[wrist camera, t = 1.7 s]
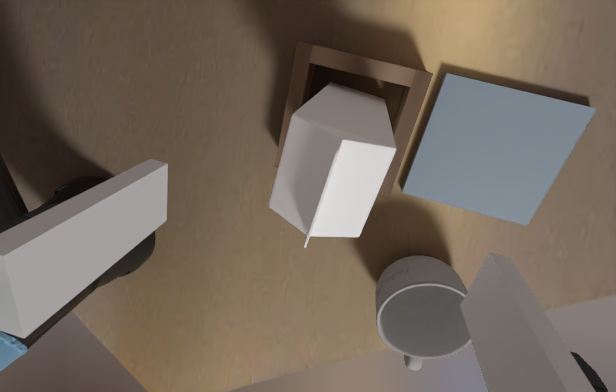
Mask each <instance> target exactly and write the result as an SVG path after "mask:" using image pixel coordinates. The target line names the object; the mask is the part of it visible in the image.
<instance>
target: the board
mask: <svg viewBox="0 0 616 392" xmlns="http://www.w3.org/2000/svg"><path fill="white" fill-rule="evenodd" d="M595 111H596V108H593V107H589V106H584V105H580V104H576V103H572V102H568V101H563V100H559V99H555V98H551V97H546V96H542V95H538V94H534V93H530V92H525V91H521V90H517V89H513V88H508V87H504V86H500V85H496V84H492V83H487V82H483V81H479V80H475V79H470V78H466V77H462V76H458V75H454V74H449V73H444V76H443V79H442V81H441V84H440V87H439V89H438V92H437V95H436V97H435V100H434V103H433V106H432V108H431V111H430V114H429V116H428V119H427V122H426V124H425V127H424V130H423V132H422V135H421V138H420V140H419V143H418V146H417V148H416V151H415V154H414V156H413V159H412V162H411V165H410V167H409V170H408V173H407V175H406V178H405V181H404V183H403V186H402V189H401V190H402V193H405V194H409V195H413V196H416V197H420V198H424V199H428V200H432V201H435V202H439V203H443V204H447V205H450V206H454V207H458V208H462V209H466V210H469V211H473V212H477V213H481V214H484V215H488V216H492V217H496V218H499V219H503V220H507V221H511V222H515V223H518V224H522V225H526V226H527V225H528V223H529V222H530V220H531V218H532V217H533V215H534V213H535V212H536V210H537V208H538V206H539V205H540V203H541V201H542V200H543V198H544V196H545V195H546V193H547V191H548V190H549V188H550V186H551V185H552V183H553V181H554V180H555V178H556V176H557V175H558V173H559V171H560V169H561V168H562V166H563V164H564V163H565V161H566V159H567V158H568V156H569V154H570V153H571V151H572V149H573V148H574V146H575V144H576V143H577V141H578V139H579V138H580V136H581V134H582V132H583V131H584V129H585V127H586V126H587V124H588V122H589V121H590V119H591V117H592V116H593V114H594V112H595Z"/></svg>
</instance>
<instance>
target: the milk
mask: <svg viewBox="0 0 616 392" xmlns="http://www.w3.org/2000/svg"><path fill="white" fill-rule="evenodd" d="M396 149H397V148H396V144H395V140H394V136H393V132H392V127H391V123H390V119H389V115H388V111H387V107H386V103H385V99H383V98H380V97H377V96H374V95H371V94H368V93H365V92H362V91H359V90H356V89H353V88H349V87H346V86H343V85H340V84H337V83H334V82H330V83H329V84H328V85H327V86H326V87H324V88H323V89H322V90H321V91H320V92H319V93H317V94H316V95H315V96H314V97H313V98H311V99H310V100H309V101H308V102H307V103H305V104H304V105H303V106H302V107H301V108H299V109H298V110H297V111H296V112H295V113H293V114H292V117H291V121H290V125H289V129H288V132H287V136H286V140H285V144H284V148H283V152H282V155H281V159H280V163H279V167H278V171H277V175H276V178H275V182H274V186H273V190H272V194H271V198H270V201H269V207H270V208H272V209H273V210H274V211H275V212H277V213H278V214H280V215H281V216H282V217H284V218H285V219H286V220H288V221H289V222H290V223H292V224H293V225H294V226H296V227H297V228H298V229H300V230H301V231H302V232H304V233H305V234H306V235H307V239H306V242H305V245H304V248H306V246H307V243H308V240H309V237H310V236H323V237H359V236H360V234H361V232H362V229H363V227H364V225H365V222H366V220H367V218H368V215H369V213H370V211H371V208H372V206H373V204H374V201H375V199H376V197H377V194H378V192H379V190H380V187H381V185H382V183H383V180H384V178H385V175H386V173H387V171H388V168H389V166H390V164H391V161H392V159H393V157H394V154H395V152H396Z"/></svg>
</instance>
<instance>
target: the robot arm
mask: <svg viewBox="0 0 616 392" xmlns="http://www.w3.org/2000/svg"><path fill="white" fill-rule="evenodd" d="M167 178H168V164H167V163H164V162H160V161H157V160H153V159H149V160H147V161H145V162H143V163H141V164H139V165H137V166H135V167H133V168H131V169H129V170H127V171H125V172H123V173H121V174H119V175H117V176H115V177H113V178H111V179H109V180H106V179H103V178H98V177H82V178H78V179H75V180H73V181H71V182H69V183H67V184H64V185H62V186H61V187H59V188H58V189H56V190H55V191H54V192H53V193H52V194H51V196H50V197H49V199H48V201H47V202H45V203H44V204H42V205H41V206H40V207H39V208H37V209H35V210H33V211H31V212H28V210H27V208H26V206H25V204H24V201H23V199H22V197H21V195H20V193H19V191H18V189H17V187H16V185H15V183H14V181H13V179H12V176H11V174H10V172H9V170H8V168H7V166H6V164H5V162H4V160H3V158H2V156H1V154H0V371H1V370H2V369H4V368H5V367H6V366H8V365H9V364H10V363H12V362H13V361H14V360H16V359H17V358H18V357H20V356H22V355H24V354H25V353H26V352H27V350H28V348H29V347H31V346H32V345H33V344H34V343H35V342H36V341H37V340H38V339H39V338H41V337H42V336H43V335H44V334H45V333H46V332H47V331H48V330H50V329H51V328H52V327H53V326H54V325H55V324H56V323H58V322H59V321H60V320H61V319H62V318H63V317H64V316H66V315H67V314H68V313H69V312H70V311H71V310H72V309H74V308H75V307H76V306H77V305H78V304H79V303H80V302H81V301H83V300H84V299H85V298H86V297H87V296H88V295H89V294H90V293H92V292H93V291H94V290H95V289H96V288H98V287H100V286H102V285H104V284H107V283H109V282H111V281H112V280H114V279H116V278H117V277H121V276H125V275H127V274H130V273H132V272H133V271H135V270H136V269H138V268H139V267H140V266H141V265H142V264H143V263H144V262H145V261H146V260H147V259H148V258H149V257H150V256H151V254H152V252H153V249H154V246H155V232H154V230H156V229H157V228H158V227H159V226H160V225H162V224H163V223H164V222H165V221H166V220H167ZM460 307H461V310H462V313H463V316H464V319H465V322H466V325H467V328H468V331H469V334H470V338H471V341H472V344H473V346H474V350H475V353H476V355H477V359H478V361H479V365H480V368H481V371H482V374H483V377H484V380H485V383H486V386H487V389H488V392H608V390H607V388H606V387H605V385H604V383H603V382H602V381H601V379H600V378H599V376H598V375H597V373H596V372H595V371H594V370H593V369H592V368H591V367H590V366H589V365H588V364H587V363H586V362H585V361H584V360H583V359H582V358H581V357H580V356H579V355H578V354H577V353H573V352H570V351H569V349H568V348H567V346H566V345H565V343H564V342H563V340H562V338H561V337H560V336H559V334H558V332H557V331H556V329H555V327H554V326H553V324H552V323H551V321H550V320H549V318H548V317H547V315H546V313H545V312H544V310H543V309H542V307H541V306H540V304H539V302H538V301H537V299H536V298H535V296H534V295H533V293H532V292H531V290H530V288H529V287H528V285H527V284H526V282H525V281H524V279H523V277H522V276H521V274H520V273H519V271H518V270H517V268H516V267H515V265H514V263H513V262H512V260H511V259H510V258H508V257H504V256H500V255H497V254H493V253H489V255H488V257H487V258H486V260H485V262H484V264H483V265H482V267H481V269H480V271H479V273H478V274H477V276H476V278H475V280H474V282H473V283H472V285H471V287H470V289H469V290H468V292H467V294H466V296H465V298H464V299H463V301H462V303H461V305H460Z"/></svg>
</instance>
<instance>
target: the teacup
mask: <svg viewBox="0 0 616 392" xmlns="http://www.w3.org/2000/svg"><path fill="white" fill-rule="evenodd" d="M467 292H468V291H467V289H466V287H465V286H464V284H463V282H462V280H461V279H460V277H459V276H458V274H457V273H456V272H455V271H454V270H453V269H452V268H451V267H450V266H449V265H447V264H446V263H444V262H443V261H441V260H438V259H436V258H433V257H429V256H419V255H417V256H409V257H404V258H402V259H399V260H397V261H395V262H394V263H392V264H391V265H389V266H388V267H387V268H386V269H385V270H384V271H383V273H382V274H381V276H380V278H379V280H378V283H377V287H376V313H377V315H376V325H377V329H378V333H379V335H380V337H381V338H382V339H383V341H384V342H385V343H386V344H387V345H388V346H389V347H391V348H392V349H394V350H396V351H397V352H400V353H402V354H404V360H405V365H406V367H407V368H408V369H411V370H418V369H419V368H420V367H421V362H422V358H424V359H427V358H428V359H429V358H440V357H445V356H448V355H451V354H454V353H456V352H458V351H459V350H461V349H463V348H464V347H465V346H467V345H468V344H469V343H470V342H471V338H470V334H469V331H468V328H467V325H466V322H465V319H464V316H463V313H462V310H461V307H460V305H461V303H462V301H463V299H464V298H465V296H466V294H467Z"/></svg>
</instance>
